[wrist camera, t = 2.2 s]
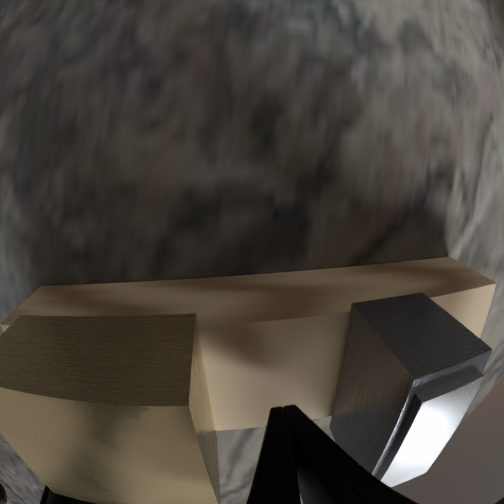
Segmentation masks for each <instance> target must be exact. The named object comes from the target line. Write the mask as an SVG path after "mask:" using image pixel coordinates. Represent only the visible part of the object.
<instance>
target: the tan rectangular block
mask: <svg viewBox="0 0 504 504" xmlns="http://www.w3.org/2000/svg"><path fill="white" fill-rule="evenodd" d="M0 433H1V434H2V435H3V436H4V438H5V439H6V440H7V442H8V443H9V444H10V445H11V447H12V448H13V449H14V450H15V452H16V453H17V454H18V455H19V456H20V458H21V459H22V460H23V461H24V462H25V463H26V464H27V466H28V467H29V468H30V469H31V470H32V471H33V472H34V473H35V474H36V475H37V476H38V477H39V478H40V480H41V481H42V482H43V483H44V484H45V485H46V486H47V487H48V488H49V489H50V490H51V491H53V492H54V493H56V494H60V495H63V496H67V497H71V498H74V499H78V500H83V501H87V502H91V503H96V504H221V500H220V485H219V469H218V451H217V435H216V430H215V425H214V420H213V415H212V409H211V404H210V398H209V393H208V387H207V381H206V375H205V369H204V363H203V356H202V350H201V343H200V336H199V329H198V322H197V314H196V313H185V314H163V315H133V316H37V315H20V316H19V317H18V318H17V319H16V320H15V321H14V322H13V323H12V324H11V325H10V326H9V327H8V328H7V329H6V331H5V332H4V333H3V334H2V335H1V336H0Z"/></svg>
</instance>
